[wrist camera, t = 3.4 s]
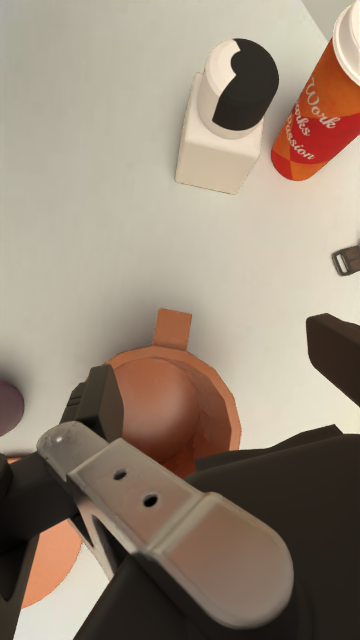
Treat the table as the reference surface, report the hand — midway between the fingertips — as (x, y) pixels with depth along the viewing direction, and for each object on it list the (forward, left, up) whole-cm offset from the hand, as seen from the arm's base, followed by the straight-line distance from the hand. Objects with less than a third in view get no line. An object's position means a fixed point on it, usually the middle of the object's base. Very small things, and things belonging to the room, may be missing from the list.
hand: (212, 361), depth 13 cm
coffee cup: (+11, +26, -21) cm, 35 cm away
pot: (-1, -5, -20) cm, 21 cm away
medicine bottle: (+1, +23, -21) cm, 31 cm away
